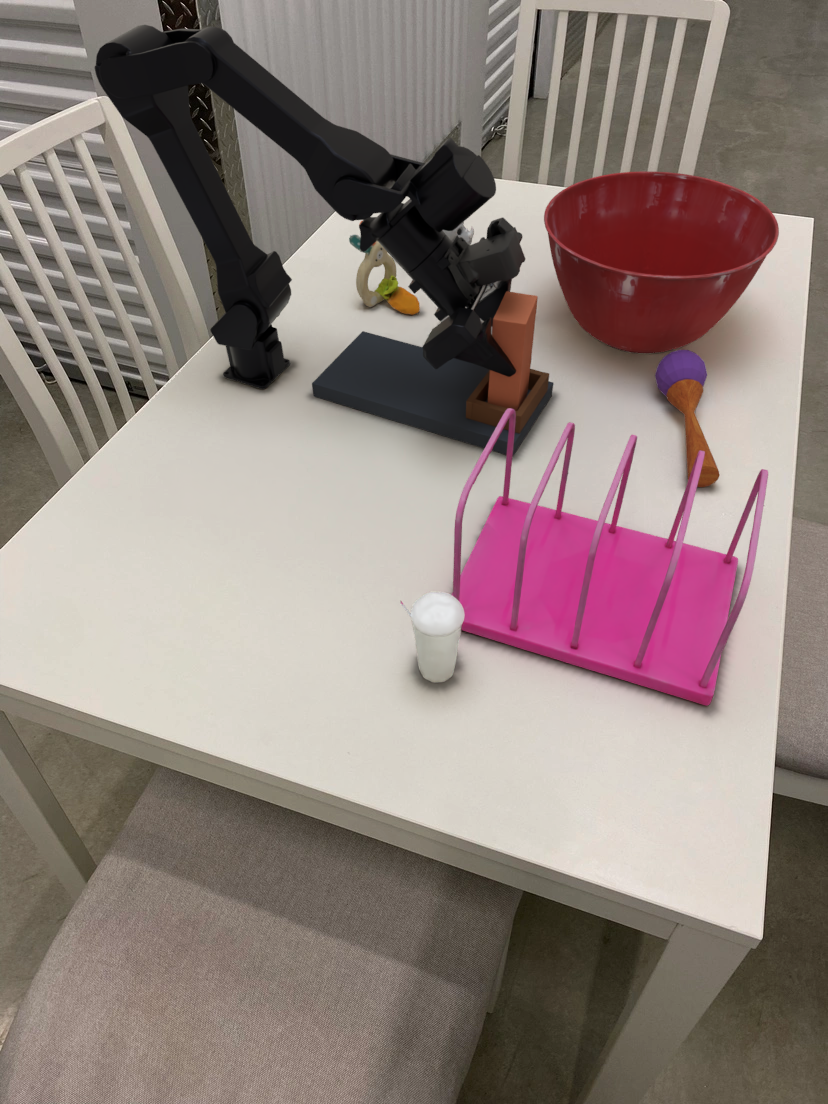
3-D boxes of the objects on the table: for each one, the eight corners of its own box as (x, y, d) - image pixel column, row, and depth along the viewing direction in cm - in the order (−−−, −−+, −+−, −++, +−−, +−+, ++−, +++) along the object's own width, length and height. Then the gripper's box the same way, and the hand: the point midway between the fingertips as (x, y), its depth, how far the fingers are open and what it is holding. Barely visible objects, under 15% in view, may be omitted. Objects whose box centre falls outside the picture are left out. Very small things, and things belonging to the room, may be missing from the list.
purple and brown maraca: (676, 460, 87) (652, 343, 100) (674, 497, 92) (652, 381, 104) (734, 454, 86) (703, 336, 99) (730, 492, 91) (700, 375, 103)
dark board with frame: (313, 396, 103) (309, 366, 100) (363, 343, 111) (361, 314, 107) (512, 457, 94) (515, 426, 91) (551, 395, 102) (555, 365, 99)
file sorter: (497, 507, 89) (507, 388, 77) (734, 569, 82) (783, 449, 71) (441, 625, 78) (442, 507, 67) (708, 708, 71) (762, 593, 60)
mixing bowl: (512, 367, 106) (521, 255, 95) (555, 262, 125) (567, 158, 113) (737, 405, 100) (776, 290, 89) (748, 289, 118) (781, 181, 107)
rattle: (377, 328, 113) (373, 249, 105) (350, 301, 118) (343, 224, 110) (423, 312, 116) (423, 235, 107) (395, 287, 121) (392, 211, 112)
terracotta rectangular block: (486, 416, 96) (492, 318, 87) (498, 387, 100) (506, 290, 91) (516, 422, 96) (525, 324, 86) (527, 392, 99) (538, 295, 90)
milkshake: (401, 650, 76) (398, 581, 69) (458, 646, 76) (461, 576, 69) (405, 692, 73) (402, 623, 66) (464, 687, 73) (468, 618, 66)
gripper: (453, 251, 76) (558, 371, 81) (502, 170, 88) (590, 279, 93) (378, 314, 83) (478, 419, 89) (432, 231, 95) (518, 329, 101)
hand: (519, 358), depth 93 cm, fingers closed on terracotta rectangular block, 6 cm apart
